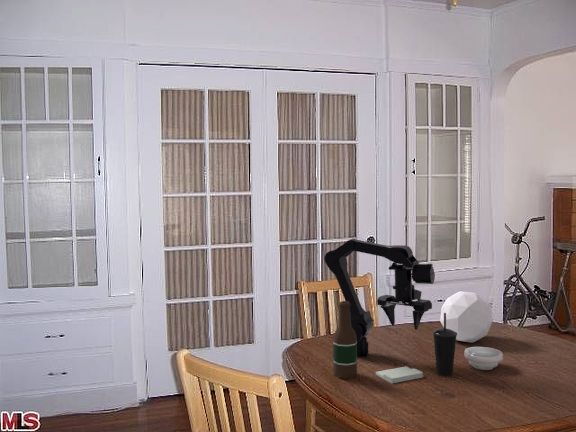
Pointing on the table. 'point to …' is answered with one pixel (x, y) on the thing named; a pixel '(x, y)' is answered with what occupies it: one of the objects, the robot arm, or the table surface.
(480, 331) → the ball
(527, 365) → the table surface
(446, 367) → the drinking cup
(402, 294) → the robot arm
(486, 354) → the bowl
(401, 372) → the napkin
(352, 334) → the beer bottle
